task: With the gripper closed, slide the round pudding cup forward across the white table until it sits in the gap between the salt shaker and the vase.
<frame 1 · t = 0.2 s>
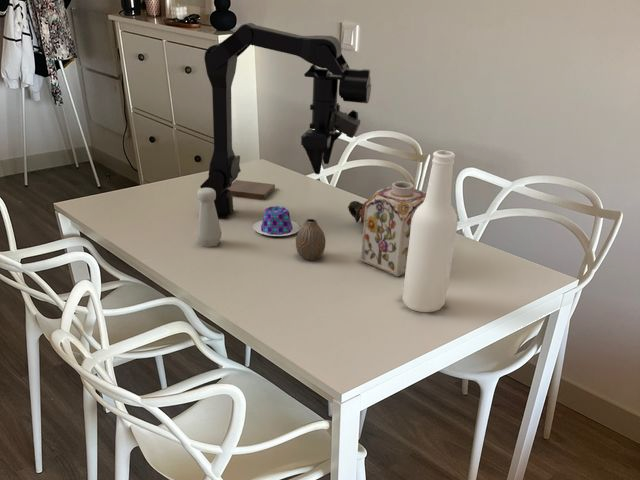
hand: (321, 168, 163), 14 cm above the table, tool pointing down, fingers open, 9 cm apart
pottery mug: (368, 227, 172), on the table
vase: (310, 257, 155), on the table
pudding: (276, 230, 168), on the table
alcohol: (422, 304, 138), on the table
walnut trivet: (250, 192, 191), on the table
salt shaker: (210, 244, 160), on the table
decorative jar: (394, 263, 154), on the table
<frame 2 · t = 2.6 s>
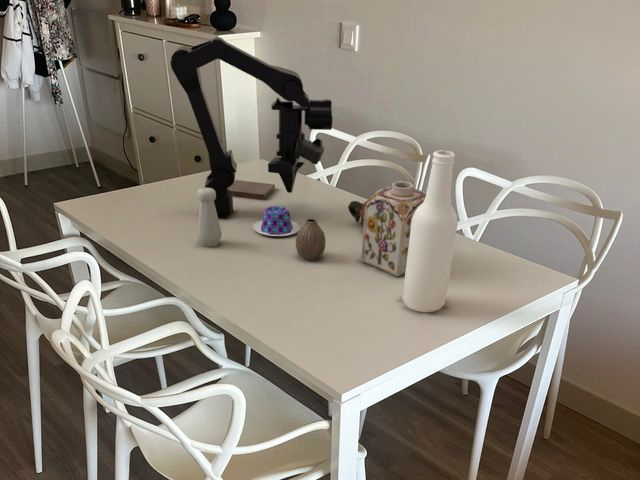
hand: (289, 192, 174), 6 cm above the table, tool pointing down, fingers closed
nothing on the table moved.
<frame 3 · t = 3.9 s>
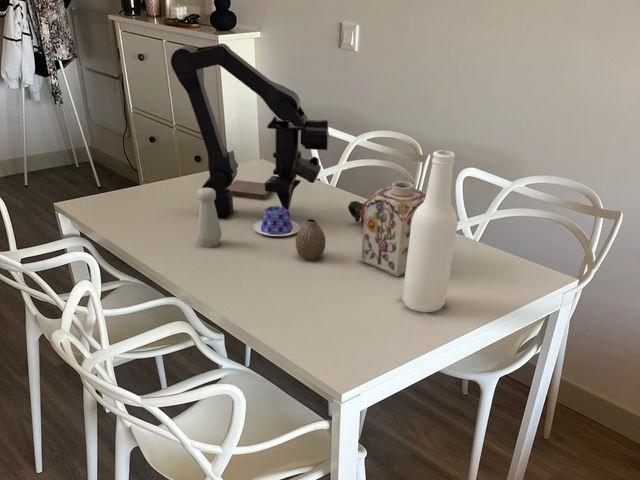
hand: (286, 210, 174), 2 cm above the table, tool pointing down, fingers closed
nothing on the table moved.
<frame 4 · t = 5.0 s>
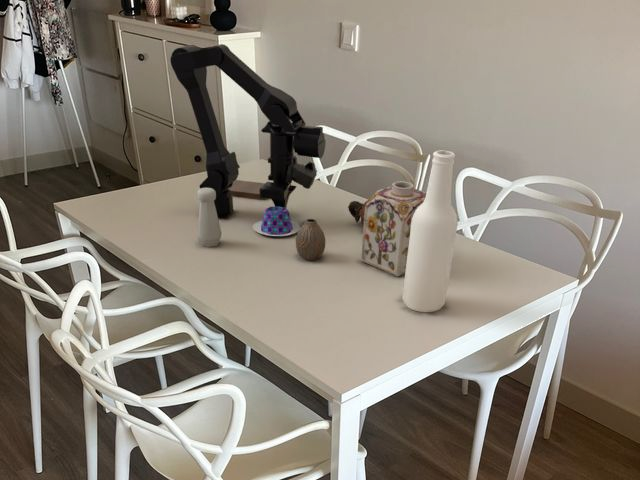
hand: (281, 216, 171), 2 cm above the table, tool pointing down, fingers closed
pudding: (276, 230, 168), on the table, touching gripper
everything else where it was.
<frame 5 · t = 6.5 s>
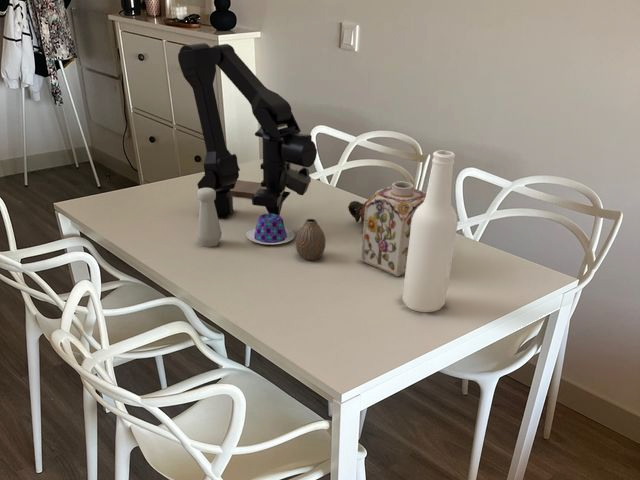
hand: (275, 223, 166), 2 cm above the table, tool pointing down, fingers closed
pudding: (270, 238, 164), on the table, touching gripper
everything else where it was.
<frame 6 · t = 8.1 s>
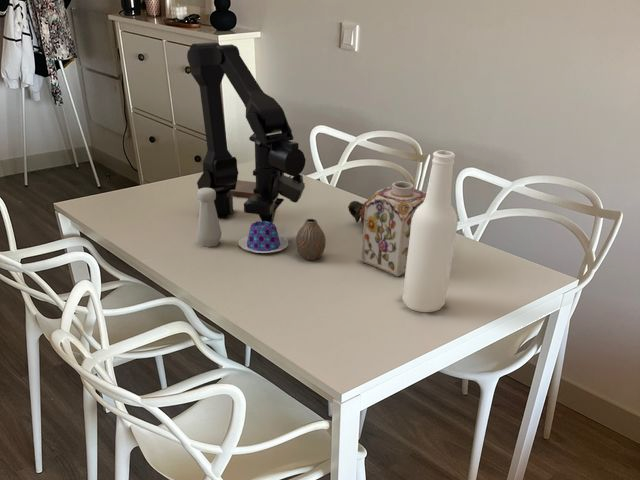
hand: (268, 230, 162), 2 cm above the table, tool pointing down, fingers closed
pudding: (263, 246, 160), on the table, touching gripper
everything else where it was.
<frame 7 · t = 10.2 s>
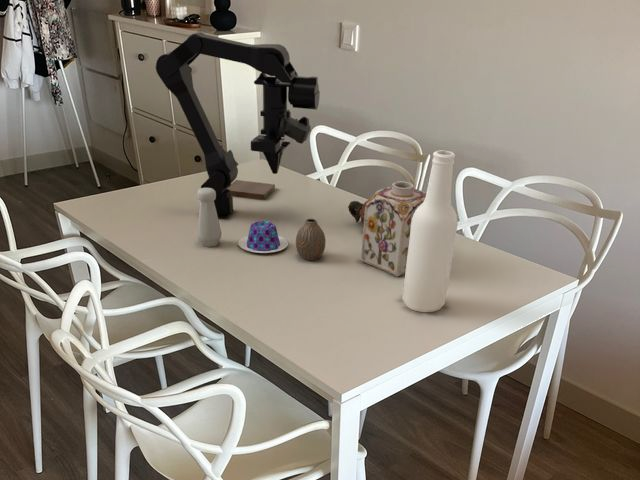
hand: (275, 173, 167), 12 cm above the table, tool pointing down, fingers closed
pudding: (263, 246, 160), on the table
everything else where it was.
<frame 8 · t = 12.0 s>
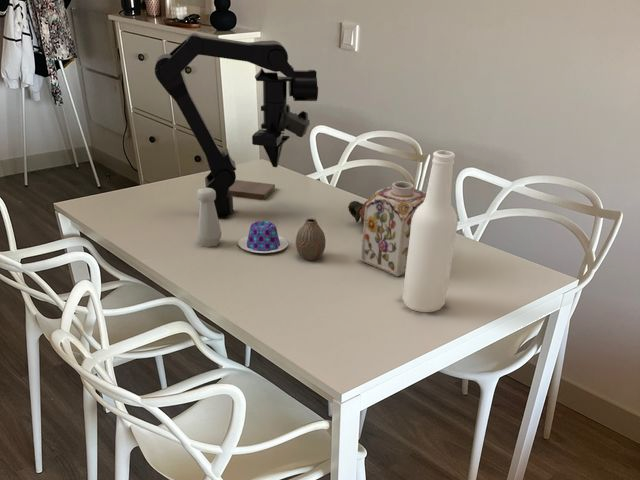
hand: (275, 166, 171), 12 cm above the table, tool pointing down, fingers closed
nothing on the table moved.
at the end: pudding inside the target area (2.6 cm from its centre), on the table; salt shaker moved 0.2 cm from its start; vase moved 0.2 cm from its start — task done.
